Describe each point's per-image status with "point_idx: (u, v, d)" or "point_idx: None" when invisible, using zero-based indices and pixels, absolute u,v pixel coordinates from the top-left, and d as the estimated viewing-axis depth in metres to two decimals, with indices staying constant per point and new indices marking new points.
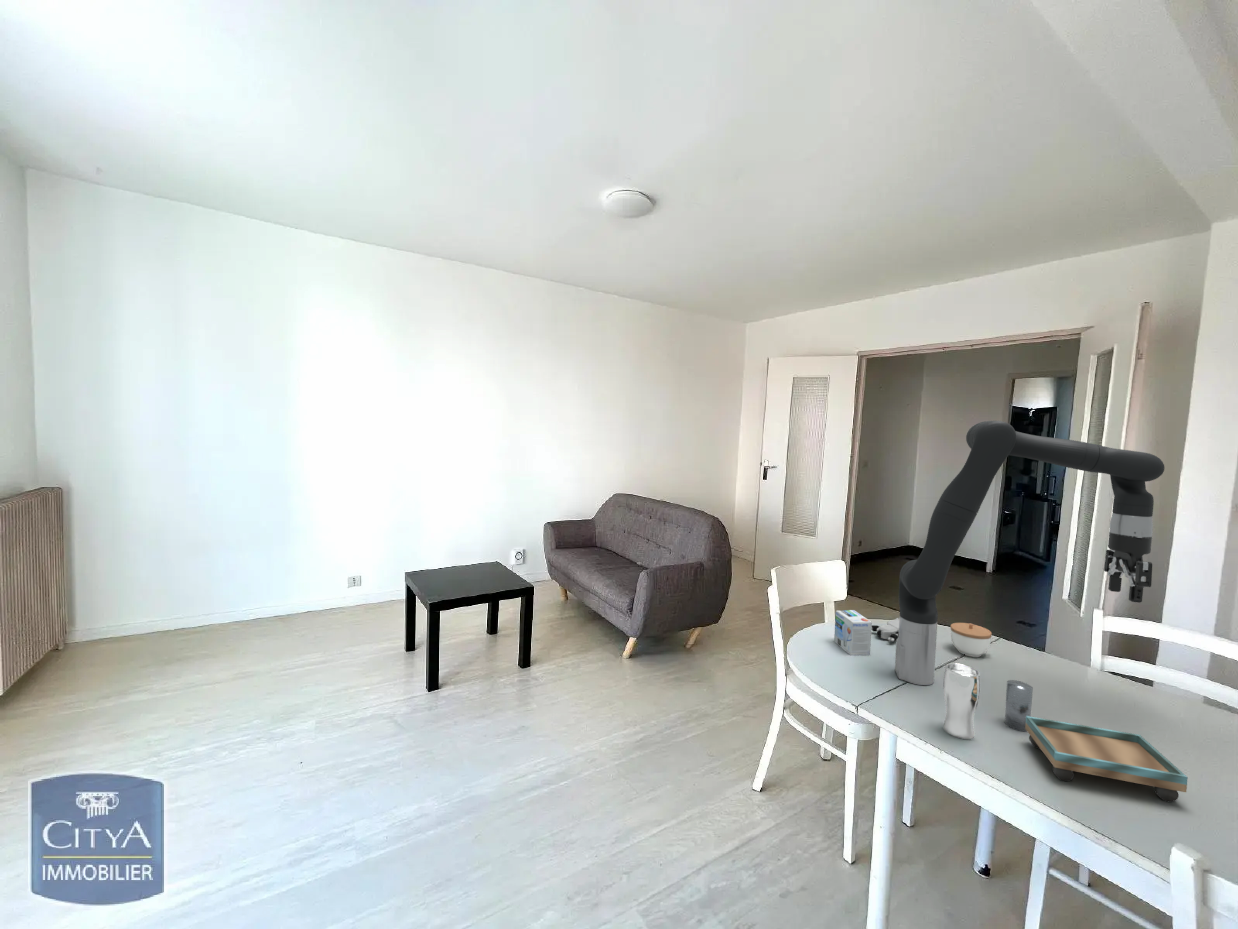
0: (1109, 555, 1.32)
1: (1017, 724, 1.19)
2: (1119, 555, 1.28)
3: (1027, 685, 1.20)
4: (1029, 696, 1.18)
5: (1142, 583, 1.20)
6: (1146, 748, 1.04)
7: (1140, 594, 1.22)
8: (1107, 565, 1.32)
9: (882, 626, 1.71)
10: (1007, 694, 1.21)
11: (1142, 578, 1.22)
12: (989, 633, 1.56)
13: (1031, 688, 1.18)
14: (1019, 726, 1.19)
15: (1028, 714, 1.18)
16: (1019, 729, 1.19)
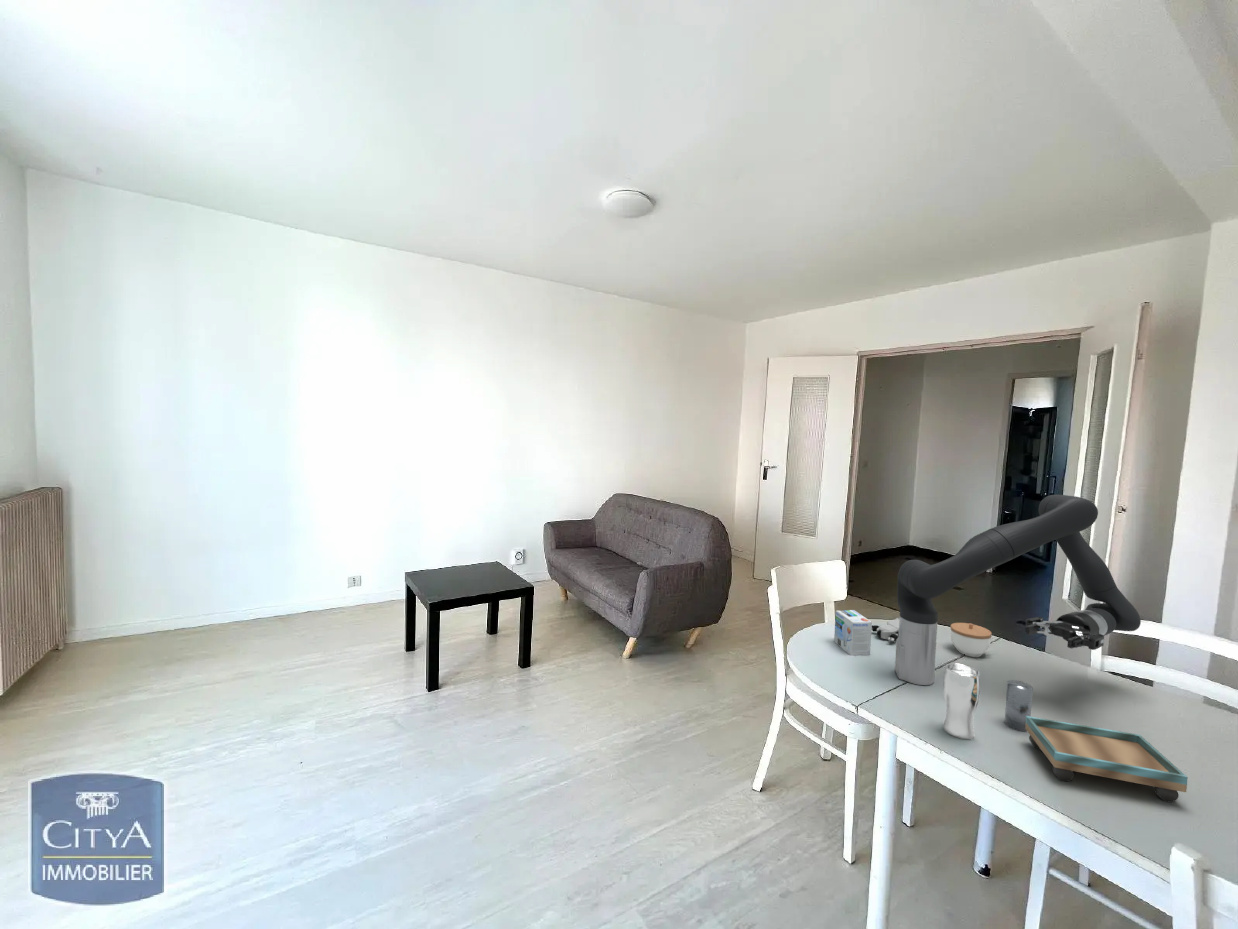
0: (1041, 619, 1.33)
1: (1017, 724, 1.19)
2: None
3: (1027, 685, 1.20)
4: (1029, 696, 1.18)
5: (1095, 643, 1.20)
6: (1146, 748, 1.04)
7: (1079, 645, 1.20)
8: (1034, 620, 1.32)
9: (882, 626, 1.71)
10: (1007, 694, 1.21)
11: None
12: (989, 633, 1.56)
13: (1031, 688, 1.18)
14: (1019, 726, 1.19)
15: (1028, 714, 1.18)
16: (1019, 729, 1.19)
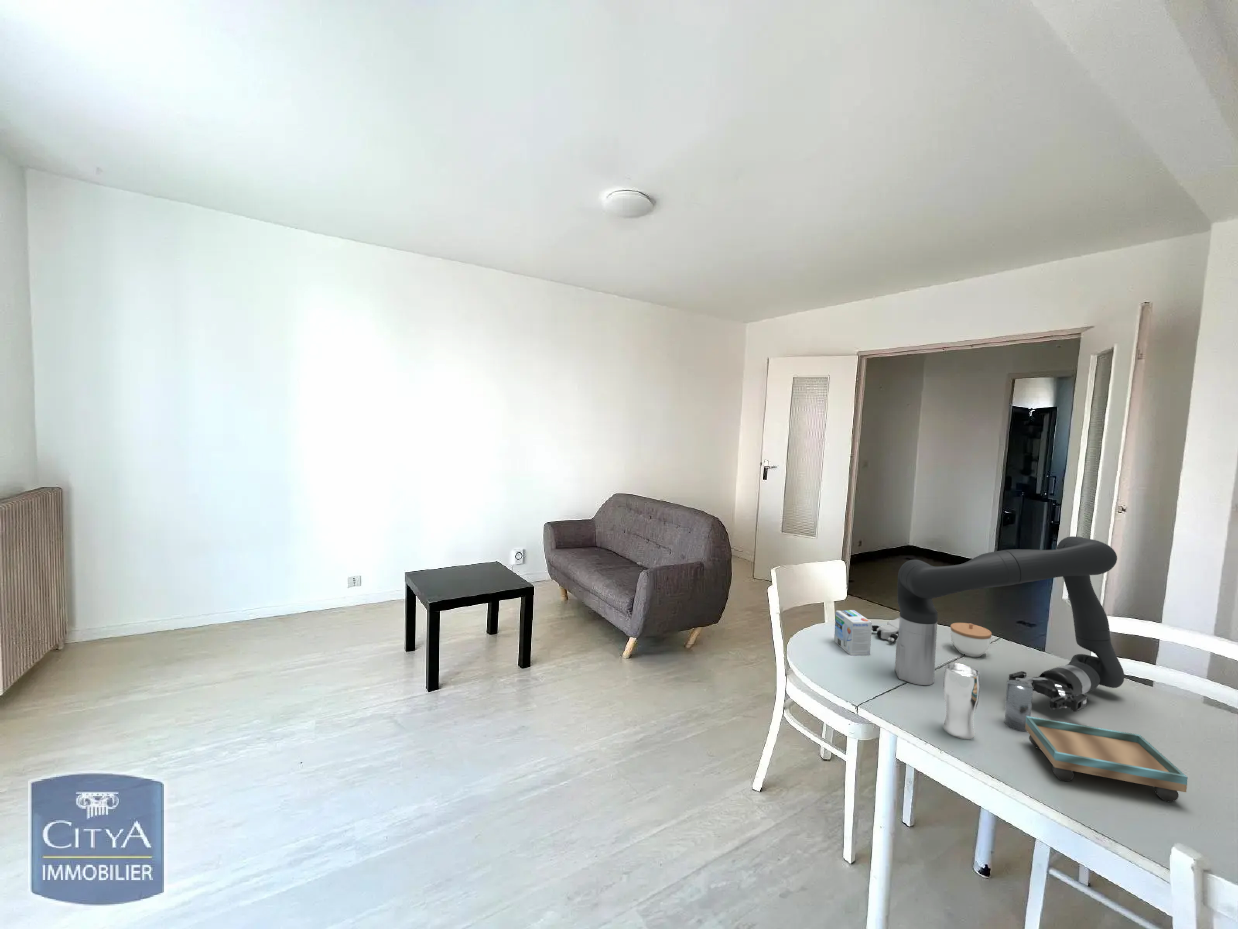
0: (1024, 674, 1.31)
1: (1017, 724, 1.19)
2: None
3: (1027, 685, 1.20)
4: (1029, 696, 1.18)
5: None
6: (1146, 748, 1.04)
7: (1061, 706, 1.19)
8: (1017, 676, 1.31)
9: (882, 626, 1.71)
10: (1007, 694, 1.21)
11: None
12: (989, 633, 1.56)
13: (1031, 688, 1.18)
14: (1019, 726, 1.19)
15: (1028, 714, 1.18)
16: (1019, 729, 1.19)
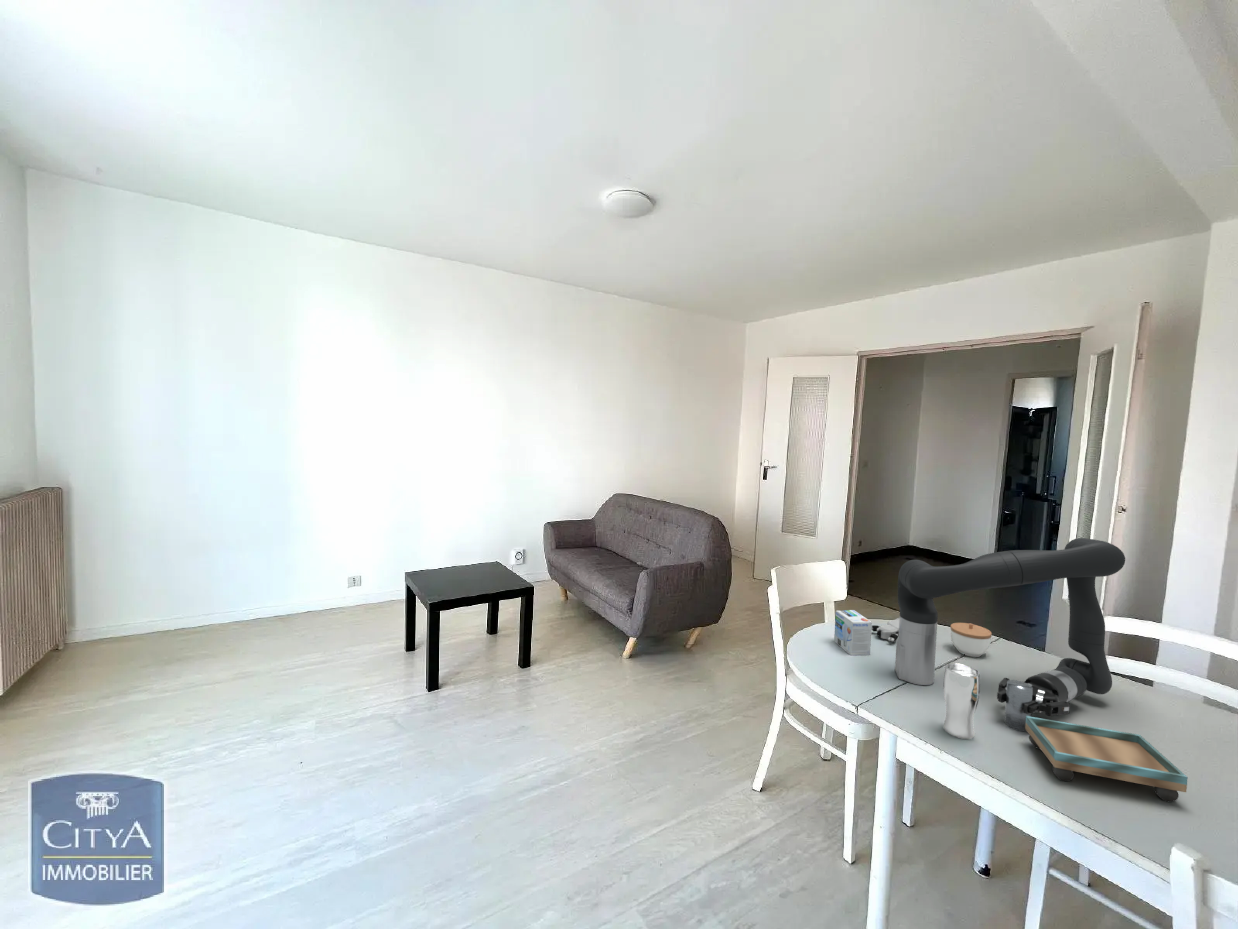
0: None
1: (1017, 724, 1.19)
2: None
3: (1027, 685, 1.20)
4: (1029, 696, 1.18)
5: (1051, 708, 1.16)
6: (1146, 748, 1.04)
7: (1035, 711, 1.17)
8: (1005, 684, 1.26)
9: (882, 626, 1.71)
10: (1007, 694, 1.21)
11: None
12: (989, 633, 1.56)
13: (1031, 688, 1.18)
14: (1019, 726, 1.19)
15: (1028, 714, 1.18)
16: (1019, 729, 1.19)
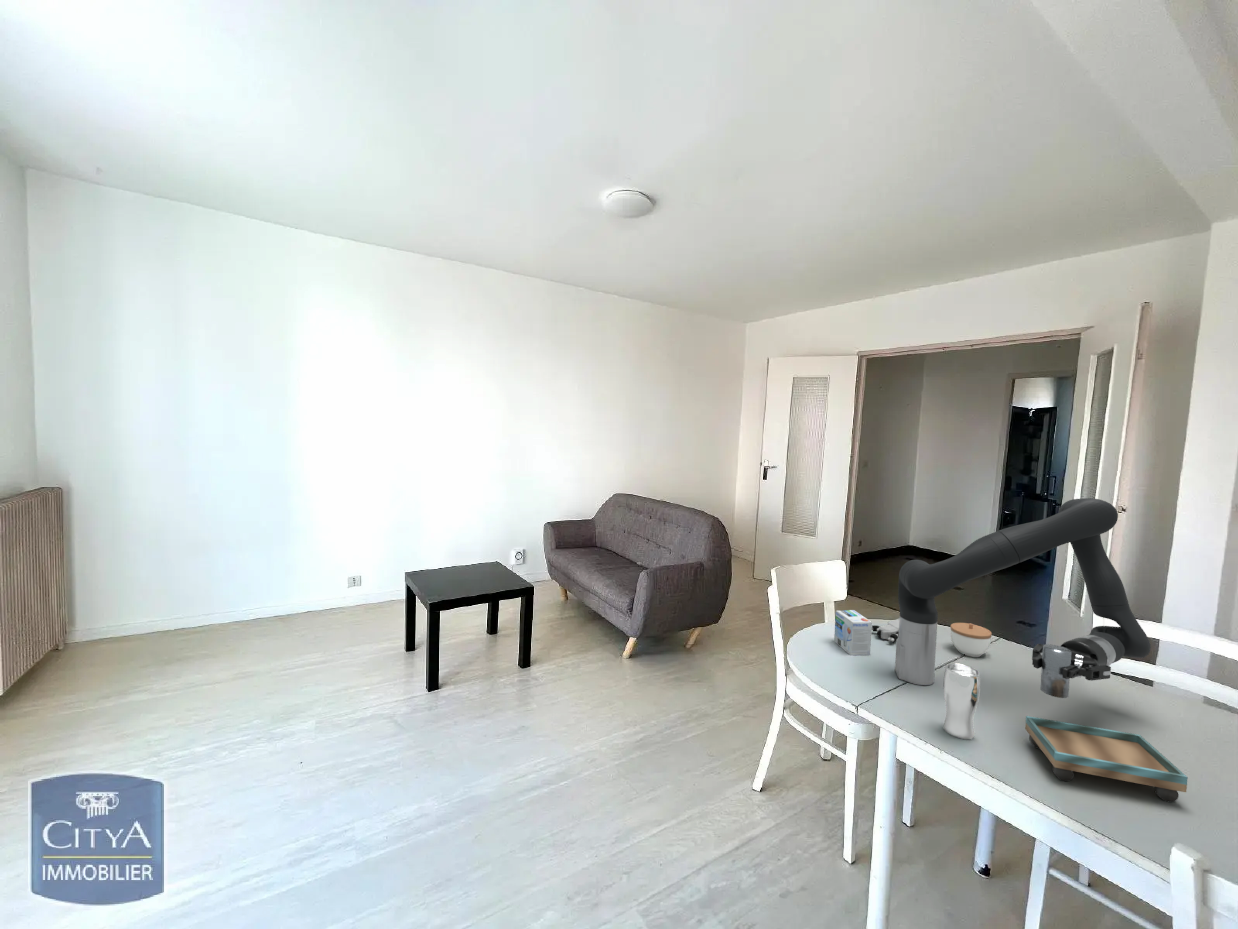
0: None
1: (1055, 690, 1.11)
2: None
3: (1065, 649, 1.12)
4: (1068, 660, 1.10)
5: (1092, 672, 1.09)
6: (1146, 748, 1.04)
7: (1075, 675, 1.09)
8: (1039, 650, 1.18)
9: (882, 626, 1.71)
10: (1043, 658, 1.13)
11: None
12: (989, 633, 1.56)
13: (1070, 651, 1.11)
14: (1057, 692, 1.11)
15: (1067, 679, 1.11)
16: (1057, 695, 1.11)
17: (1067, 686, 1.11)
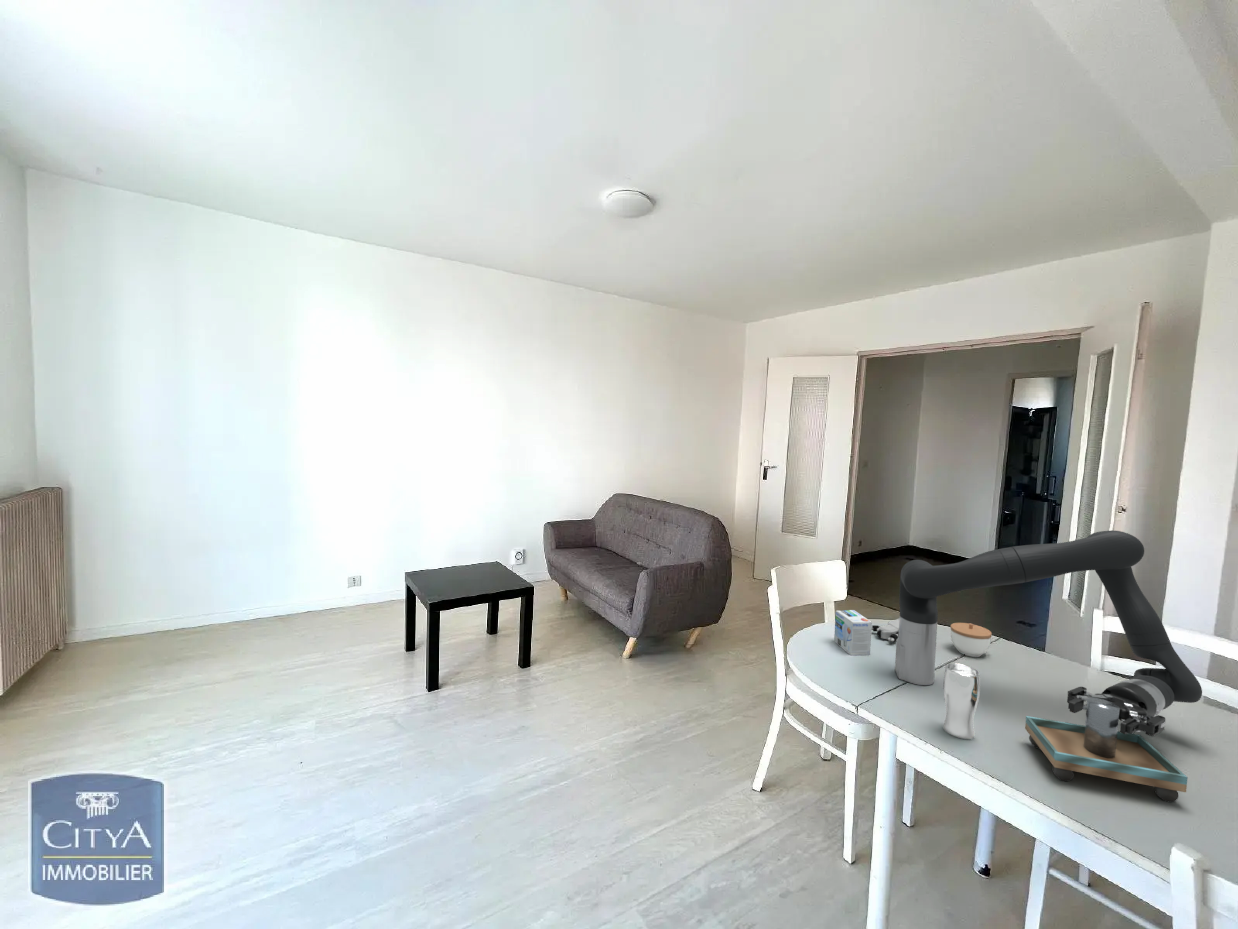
0: None
1: (1101, 750, 1.02)
2: None
3: (1112, 704, 1.03)
4: (1116, 717, 1.01)
5: None
6: (1146, 748, 1.04)
7: (1134, 730, 0.99)
8: (1077, 692, 1.11)
9: (882, 626, 1.71)
10: (1088, 714, 1.04)
11: None
12: (989, 633, 1.56)
13: (1118, 708, 1.02)
14: (1103, 752, 1.02)
15: (1114, 738, 1.02)
16: (1103, 755, 1.02)
17: (1114, 745, 1.02)
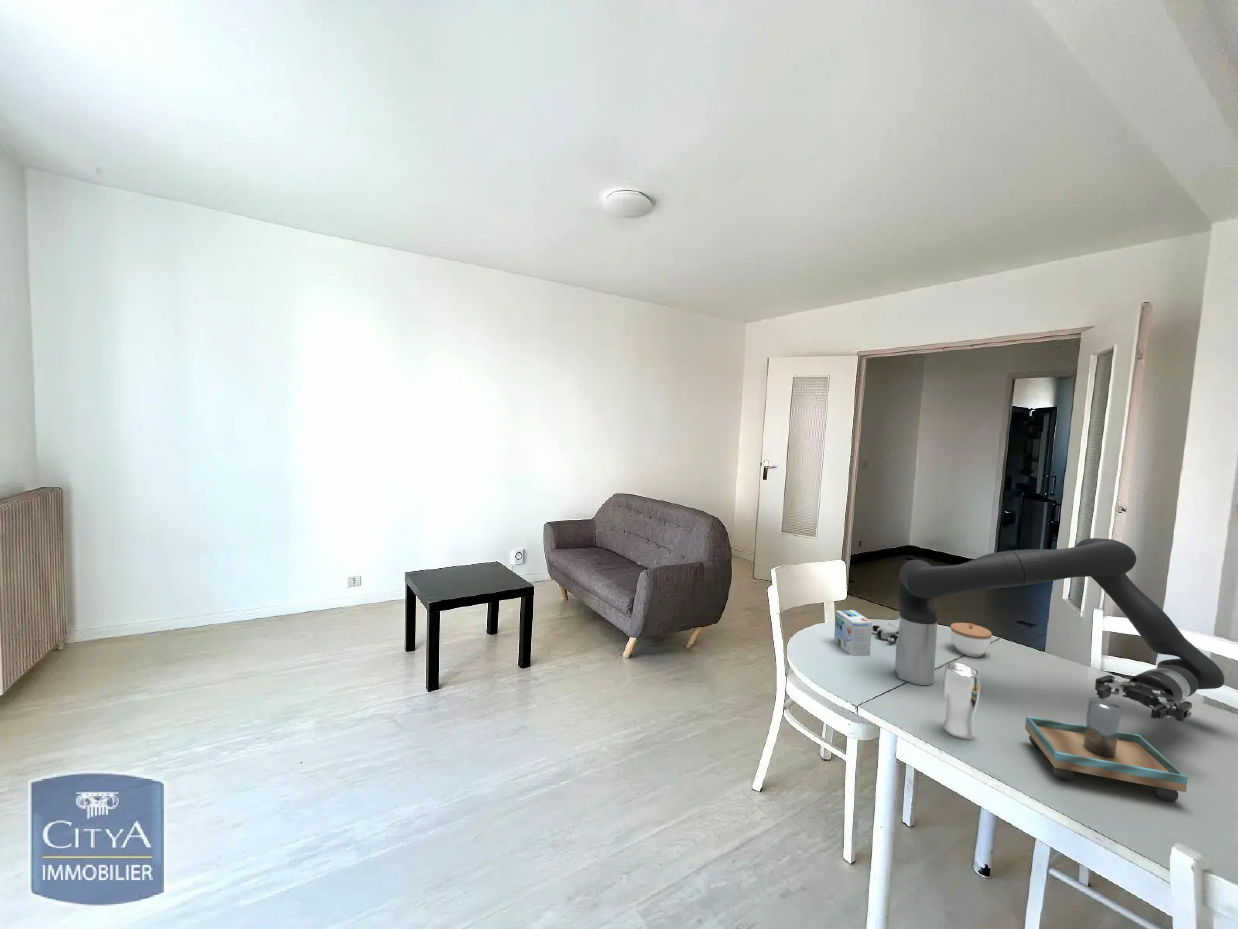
0: (1113, 679, 1.17)
1: (1100, 749, 1.02)
2: None
3: (1113, 704, 1.03)
4: (1117, 717, 1.01)
5: None
6: (1146, 748, 1.04)
7: (1165, 715, 1.04)
8: (1105, 680, 1.16)
9: (883, 626, 1.71)
10: (1089, 713, 1.04)
11: None
12: (989, 633, 1.56)
13: (1119, 708, 1.02)
14: (1103, 752, 1.02)
15: (1115, 738, 1.02)
16: (1103, 755, 1.02)
17: (1114, 745, 1.02)
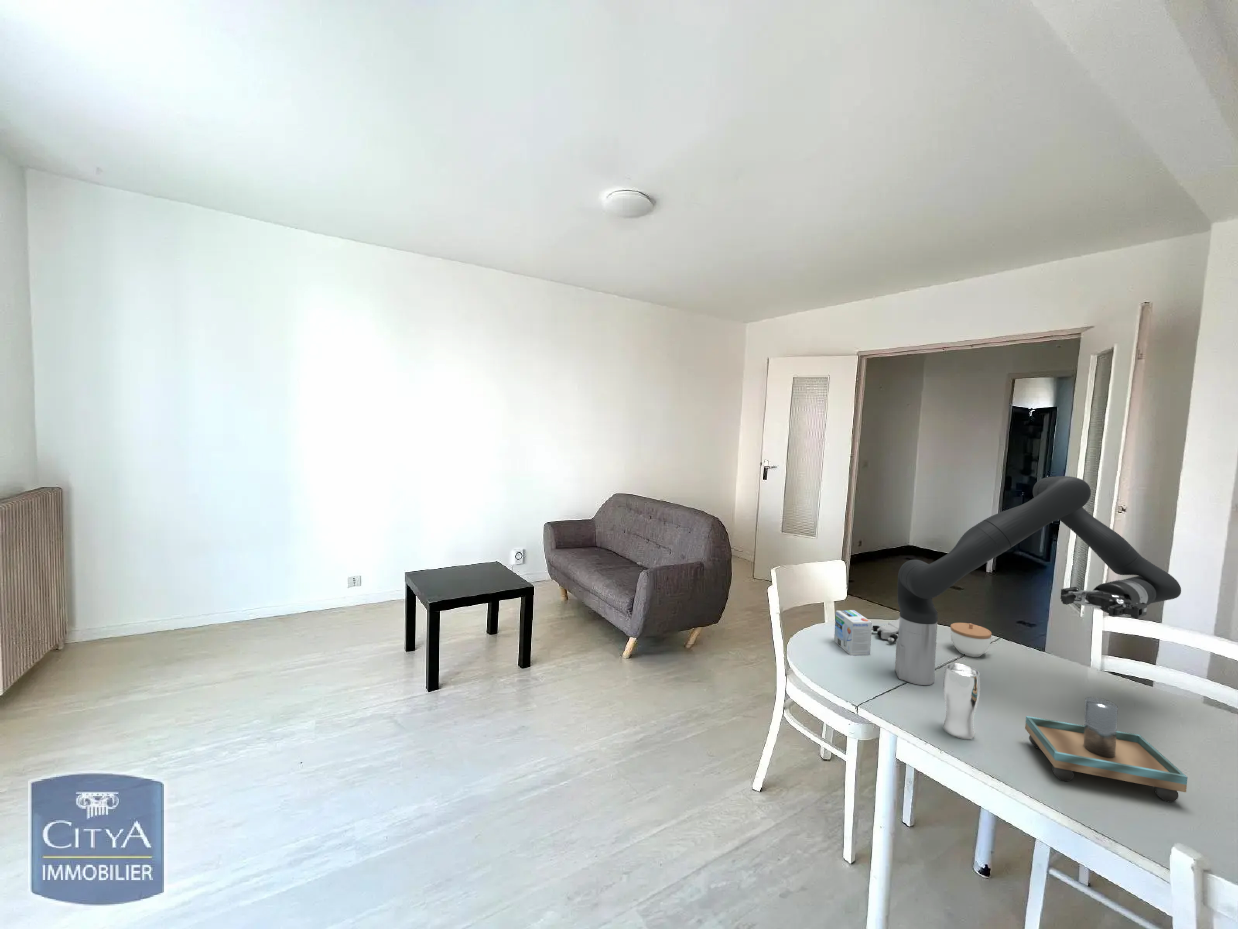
0: None
1: (1099, 749, 1.02)
2: None
3: (1110, 703, 1.03)
4: (1113, 716, 1.01)
5: None
6: (1146, 748, 1.04)
7: (1121, 613, 1.13)
8: (1069, 590, 1.25)
9: (883, 626, 1.71)
10: (1086, 713, 1.05)
11: None
12: (989, 633, 1.56)
13: (1115, 707, 1.02)
14: (1102, 751, 1.02)
15: (1113, 737, 1.02)
16: (1102, 755, 1.02)
17: (1113, 745, 1.02)
